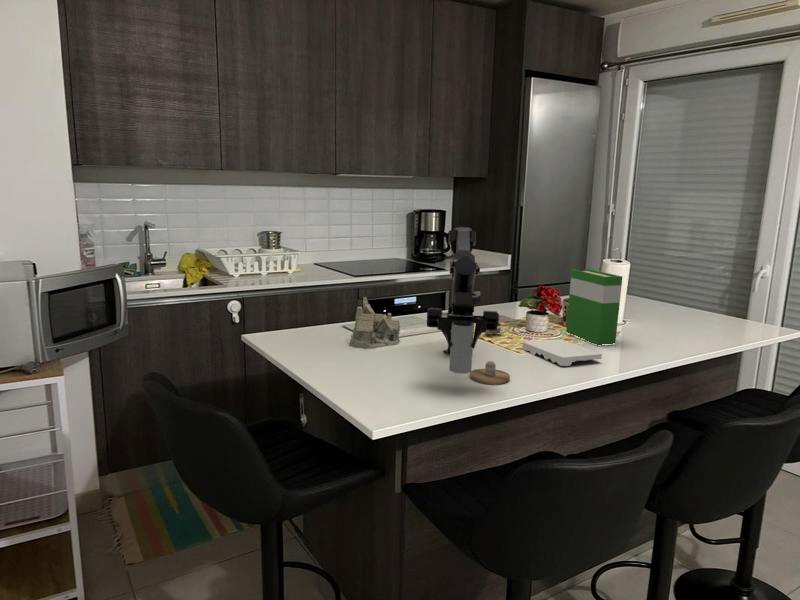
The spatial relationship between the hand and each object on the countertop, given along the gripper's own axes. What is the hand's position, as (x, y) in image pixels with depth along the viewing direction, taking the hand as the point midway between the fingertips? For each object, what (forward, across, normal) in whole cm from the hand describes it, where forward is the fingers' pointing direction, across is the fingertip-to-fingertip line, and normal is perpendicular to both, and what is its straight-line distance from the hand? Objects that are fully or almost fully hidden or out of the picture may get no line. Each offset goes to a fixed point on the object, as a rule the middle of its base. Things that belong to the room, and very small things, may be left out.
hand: (461, 347), depth 152 cm
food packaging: (-18, +33, +35) cm, 52 cm away
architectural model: (-34, +14, +52) cm, 64 cm away
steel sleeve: (+4, 0, +6) cm, 7 cm away
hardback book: (-35, +48, +52) cm, 79 cm away
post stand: (0, +9, +16) cm, 19 cm away
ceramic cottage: (-21, -27, +38) cm, 51 cm away
